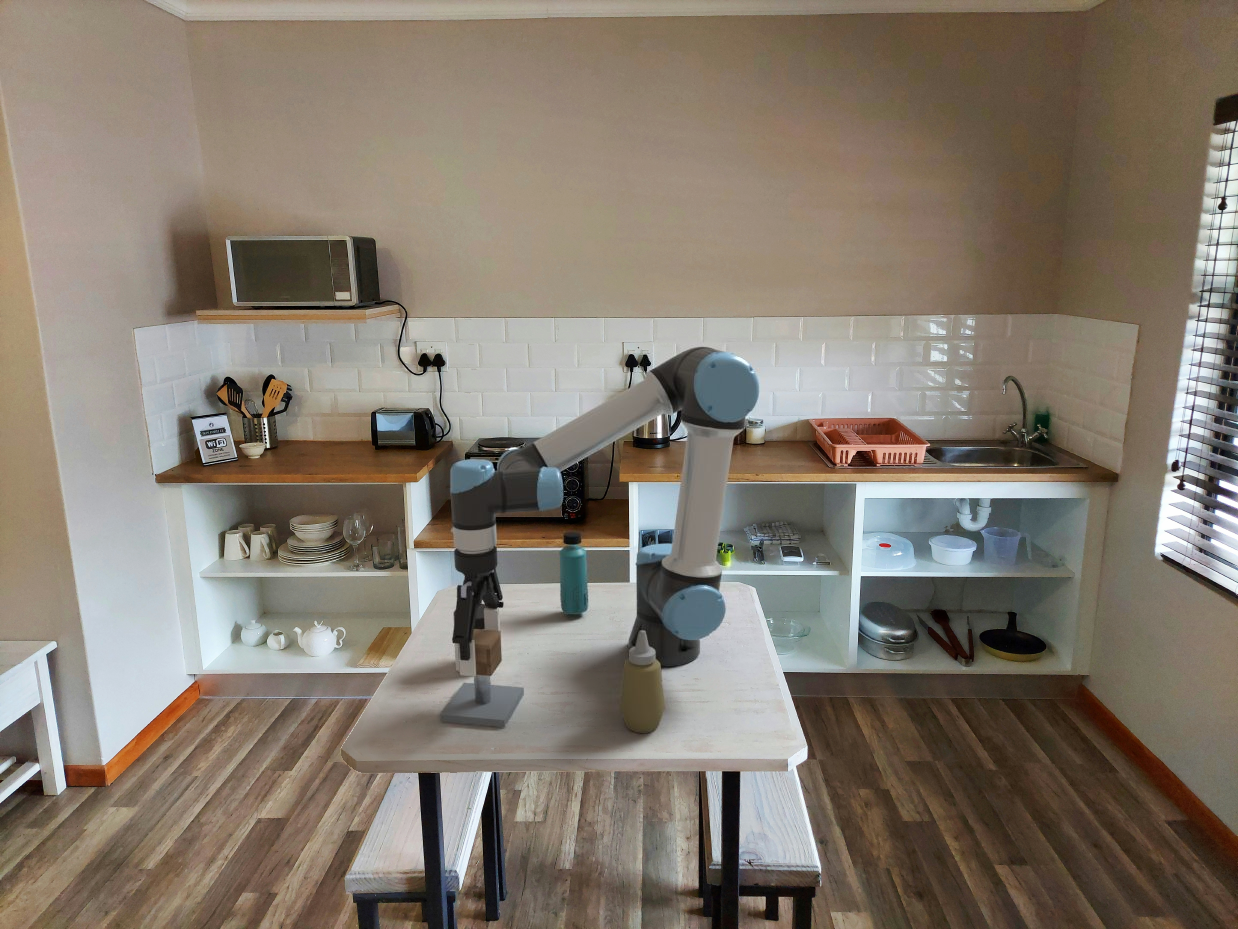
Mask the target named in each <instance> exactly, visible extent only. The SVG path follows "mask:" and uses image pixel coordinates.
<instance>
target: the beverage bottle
mask: <svg viewBox="0 0 1238 929" xmlns="http://www.w3.org/2000/svg"><path fill="white" fill-rule="evenodd" d="M562 543H563V544H564V547H563V548H561V549H560V551H559V585H560V588H559V589H560V590H559V591H560V593H559V597H560V599H559V600H560V609H561V611H562V612H563V613H564V614H568V615H579V614H584V613H585V612H587V611H588V608H589V588H588V586H589V585H588V569H587V568H588V566H587V550H586V549H585V548H584V547H582V546H581V545H579V544H581V543H582V535H581V533H580V532H579V531H567V532H565V533H563V540H562ZM565 545H566V546H565Z"/></svg>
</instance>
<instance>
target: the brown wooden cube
mask: <svg viewBox="0 0 1238 929" xmlns="http://www.w3.org/2000/svg"><path fill="white" fill-rule="evenodd" d="M501 635H502V633H501V630H500V631H494V630H481V629H474V632H473V637H472V640H474V643H475V662H476V675H485V676H490V677H492V676H493V674H494V673H495V671H496V670H497V668H498V667H499V665H500V664H501V662H502V660H503V658H502V656H503V655H502V638H501V637H502V636H501ZM458 655H459V649H458ZM458 672H459V674H460V666H459V671H458Z"/></svg>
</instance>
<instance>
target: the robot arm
mask: <svg viewBox="0 0 1238 929" xmlns="http://www.w3.org/2000/svg"><path fill="white" fill-rule="evenodd" d="M759 395H760V382H759V379H758V375H757V373H756V371H755V370H754V368H753V367H752V365H751V364H749V362H747V360H745V359H743V358H741V357H740V356H739V355H736V354H734V353H733V352H729V351H728V352H727V351H723V350H719V349H715V348H713V347H712V348H711V347H710V346H709V347H708V346H697V347H691V348H689V349H687V350H684V351H682V352H680V353H679V354H676V355H675V356H672V357H671V358H669V359H668V360H666V361H664V362H662V363H661V364H659V365H657V366H656V367H654V368H652V369H650V370H648V371H646V374H645V377H644V379H643V380H641V381H640V382H638V383H636V384H634V385H632V386H631V387H629V388H627V389H625V390H624V391H621V392H620V393H618V394H616V395H615V396H614V397H611V398H610V399H608V400H606V401H604V402H602V403H601V404H599V405H597V406H596V407H595V406H594V408H592V409H590V410H588V411H587V412H585V413H583V414H581V415H580V416H577V417H576V418H574V419H572V420H571V421H569V422H567V423H565V424H564V425H562V426H559V427H557V429H555V430H553V431H552V432H550V433H547V434H545V435H544V436H542V437H540V438H539V439H536V440H535V441H534V442H532V443H529V444H527V445H526V446H524V447H522V448H513V449H509V450H507V451H505V452H504V453H502V454H501V456H500V457H499V459H498V461H497V466H496V469H497V470H495V468H494V464H493V462H491V460H488V459H477V458H471V459H470V458H469V459H463V460H460V461H457V462H454V464H452V466H451V468H450V471H449V472H450V474H449V475H450V476H449V477H450V482H449V483H450V485H449V486H450V488H449V489H450V492H449V493H450V502H451V503H450V504H451V507H450V508H451V519H452V520H451V521H452V528H451V529H450V533H451V534H453V535H452V536H453V547H454V548H455V549H454V551H453V558H454V568H455V570H456V571H457V572H459V573H460V574H462V575H463V576H464V579H463V582H462V584H458V585H456V586H457V587H456V605H455V610H456V612H455V621H454V620H453V632H452V637H451V638H452V639H451V640H452V643H453V644H454V643H457V644H458V649H459V666H460V673H459V675H460V676H466V677H474V676H475V675H476V662H475V643H474V640H472V637H473V632H474V626H475V621H476V616H477V610H478V606H480V605H481V604H485V606H486V607H488V608H485V609H484V622H485V630H494V631H501V627H500V626H501V625H500V609H504V601H503V599H504V597H503V593H502V589H501V585H500V580H499V577H498V574H497V567H498V565H499V564H498V548H497V546H496V545H497V543H498V539H497V538H498V536H497V522H496V515H497V514H509V513H510V514H511V513H512V514H513V513H522V512H523V513H524V512H537V511H539V512H545V511H548V510H555V509H559V508H560V507H561V506H562V504H563V500H564V484H563V483H564V482H563V477H562V473H561V472H562V471H564V470H566V469H567V468H570V467H571V466H573V465H575V464H576V463H578V462H580V461H582V460H583V459H585V458H587V457H589V456H591V455H592V454H595V453H596V452H598V451H600V450H602V449H603V448H605V447H607V446H608V445H610V444H612V443H614V442H615V441H617V440H620V439H621V438H623V437H624V436H626V435H628V434H631V433H632V432H633V431H635V430H637V429H639V428H640V427H642V426H643V425H645V424H647V423H650V421H653V420H654V419H656V418H658V417H660V416H662V415H669V416H672V415H673V414H675V413H677V412H679V411H681V418H680V422H681V424H682V425H683V426H684V428H685V429H686V431H687V434H686V441H685V442H686V443H685V448H684V455H683V457H684V458H683V463H682V464H683V465H682V471H681V478H680V487H679V494H678V501H677V505H676V506H677V507H676V514H675V522H674V529H673V536H672V537H673V538H672V543H657V544H650V545H646V546H644V547H641V548H640V549H639V550H638V551H637V553H636V561H635V568H636V569H635V574H636V575H635V578H636V585H635V586H636V588H635V589H636V617H635V619H634V623H633V624H632V625H633V626H632V628H631V631H630V635H629V638H628V643H627V644H628V646H627V647H628V651H629V650H630V649H631V648H633V647H635V646H636V642H637V638H638V633H639V631H641V630H644V631H646V636H647V640H648V645H649V647H652V648H653V649H654V650H655V652H656V654H655V659H656V660H658V661H659V662H660V665H661V667H677V666H681V665H685V664H688V663H690V662H692V661H694V660H695V659H697V657H699V655H700V653H701V639H704V638H706V637H708V636H710V635H711V634H712V633H713V632H715V631H716V630H718V628H719V627H720V626H721V625H722V623H723V621H724V619H725V616H726V611H727V608H726V606H727V605H726V602H725V598H724V596H723V594H722V593H721V592H720V588H721V582H722V576H723V575H722V574H723V568H722V566H721V565H720V564H719V562H718V561H717V554H718V546H719V538H720V532H721V527H722V520H723V513H724V505H725V499H726V494H727V493H726V491H727V486H728V479H729V474H730V472H729V471H730V465H731V458H732V452H733V447H734V446H733V445H734V439H735V437H736V436H737V435H739V434H740V433H741V432H743V431H744V428H745V421H746V417H747V416H748V415H749V413H750V412H752V411H753V410H754V408H755V407H756V405H757V402H758V400H759ZM482 602H483V603H482ZM499 608H500V609H499Z"/></svg>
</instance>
